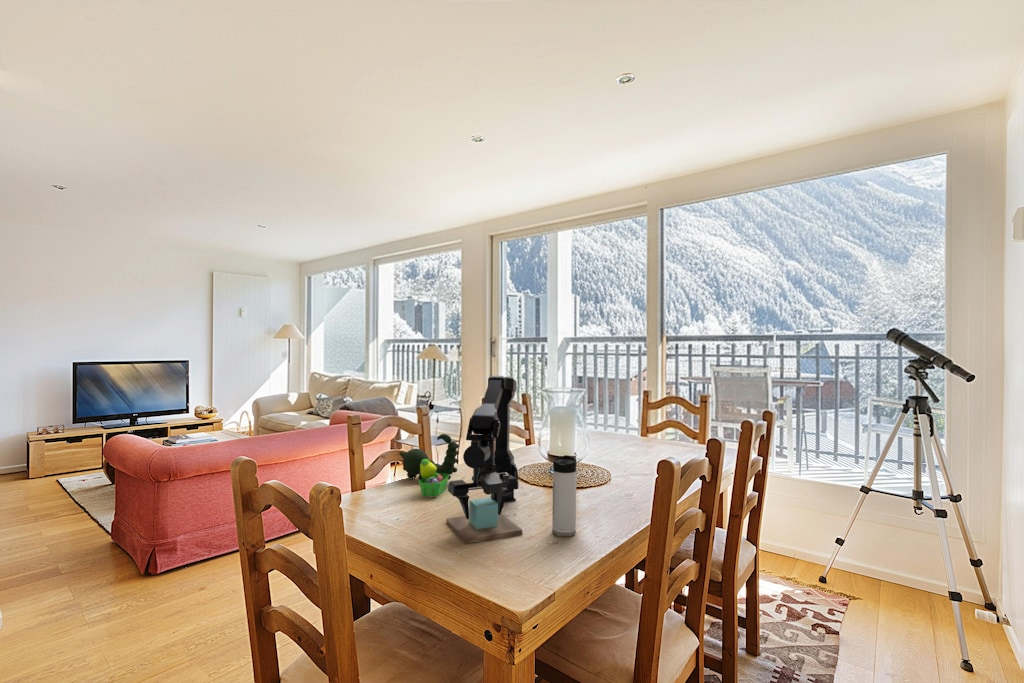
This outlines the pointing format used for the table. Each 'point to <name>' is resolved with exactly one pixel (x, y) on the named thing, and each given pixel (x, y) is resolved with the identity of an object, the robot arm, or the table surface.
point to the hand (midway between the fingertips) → (483, 516)
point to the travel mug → (564, 496)
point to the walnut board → (473, 535)
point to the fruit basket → (431, 479)
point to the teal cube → (483, 513)
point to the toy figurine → (417, 455)
